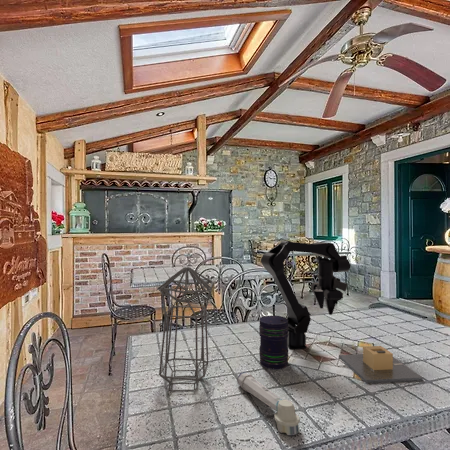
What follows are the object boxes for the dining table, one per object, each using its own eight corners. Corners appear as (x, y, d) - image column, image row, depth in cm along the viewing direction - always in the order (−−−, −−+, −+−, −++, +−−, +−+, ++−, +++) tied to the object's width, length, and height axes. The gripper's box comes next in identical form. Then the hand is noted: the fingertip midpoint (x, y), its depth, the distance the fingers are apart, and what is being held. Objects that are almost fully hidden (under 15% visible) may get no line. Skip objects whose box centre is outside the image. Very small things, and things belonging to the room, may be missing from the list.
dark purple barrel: (256, 367, 103) (255, 322, 103) (262, 355, 112) (262, 314, 112) (286, 371, 100) (285, 325, 100) (290, 359, 109) (290, 316, 109)
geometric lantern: (164, 371, 100) (167, 263, 101) (212, 373, 100) (215, 264, 100) (151, 397, 85) (154, 269, 85) (208, 399, 84) (211, 271, 85)
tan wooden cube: (381, 360, 105) (380, 344, 105) (392, 369, 99) (392, 352, 99) (363, 361, 105) (362, 345, 105) (373, 370, 98) (373, 352, 98)
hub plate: (365, 383, 92) (365, 365, 92) (338, 357, 110) (338, 342, 110) (423, 380, 93) (423, 362, 93) (387, 355, 111) (387, 340, 111)
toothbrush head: (250, 369, 93) (302, 400, 71) (251, 393, 92) (305, 431, 70) (234, 373, 91) (283, 406, 69) (235, 397, 90) (286, 438, 68)
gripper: (356, 276, 117) (356, 317, 117) (334, 269, 136) (335, 305, 136) (327, 277, 117) (328, 318, 117) (310, 270, 135) (310, 305, 135)
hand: (325, 311), depth 126 cm, fingers open, 9 cm apart
